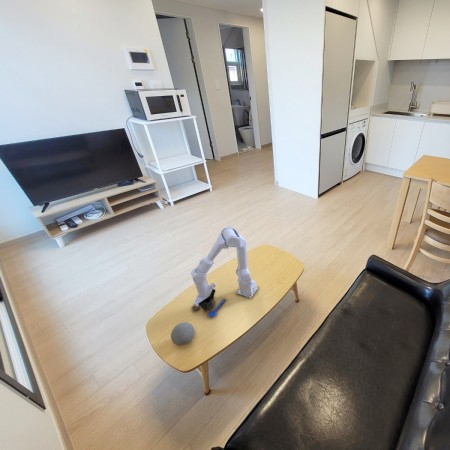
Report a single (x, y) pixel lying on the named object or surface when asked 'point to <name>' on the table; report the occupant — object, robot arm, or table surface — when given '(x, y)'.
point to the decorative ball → (182, 333)
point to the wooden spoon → (196, 307)
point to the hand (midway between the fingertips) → (208, 304)
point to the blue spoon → (215, 309)
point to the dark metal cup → (209, 303)
